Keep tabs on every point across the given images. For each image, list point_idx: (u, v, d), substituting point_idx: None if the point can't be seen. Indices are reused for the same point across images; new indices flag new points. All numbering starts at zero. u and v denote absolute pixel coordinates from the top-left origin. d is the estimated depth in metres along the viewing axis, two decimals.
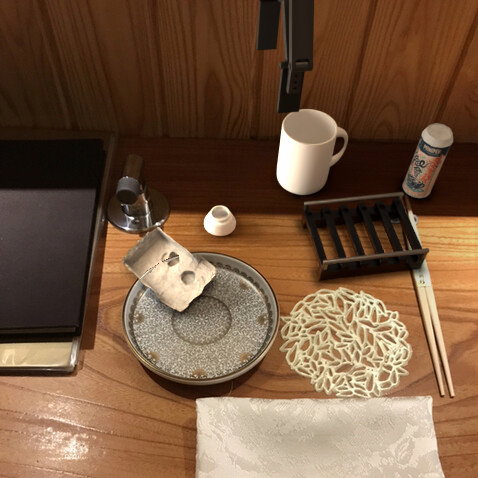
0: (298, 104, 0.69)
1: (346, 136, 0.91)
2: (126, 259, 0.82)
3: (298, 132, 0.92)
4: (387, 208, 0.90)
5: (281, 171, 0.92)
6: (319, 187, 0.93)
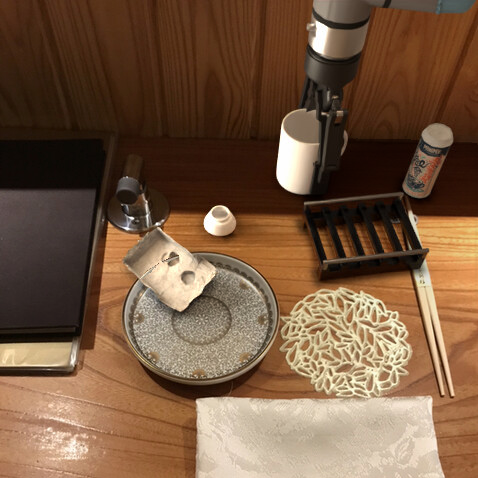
0: (326, 188, 0.92)
1: (346, 136, 0.91)
2: (126, 259, 0.82)
3: (298, 132, 0.92)
4: (387, 208, 0.90)
5: (281, 171, 0.92)
6: None
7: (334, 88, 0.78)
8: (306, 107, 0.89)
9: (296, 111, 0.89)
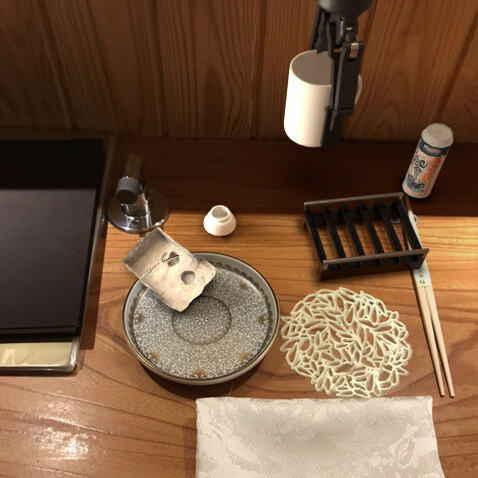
0: (338, 139, 0.84)
1: (360, 80, 0.83)
2: (126, 259, 0.82)
3: (307, 78, 0.84)
4: (387, 208, 0.90)
5: (289, 120, 0.84)
6: None
7: (348, 17, 0.69)
8: (317, 48, 0.81)
9: (305, 53, 0.81)
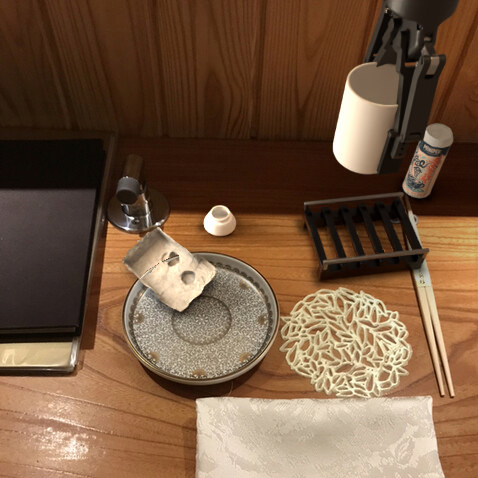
0: (399, 166, 0.72)
1: None
2: (127, 259, 0.82)
3: (363, 94, 0.72)
4: (387, 208, 0.90)
5: (341, 143, 0.72)
6: None
7: (428, 25, 0.57)
8: (378, 60, 0.68)
9: (364, 65, 0.69)
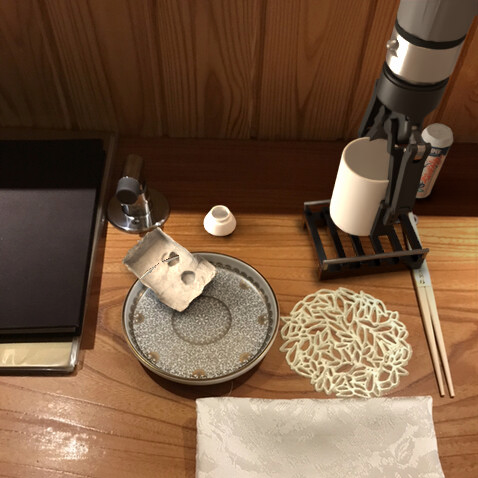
0: (390, 230, 0.78)
1: None
2: (127, 259, 0.82)
3: (357, 163, 0.79)
4: None
5: (337, 209, 0.78)
6: None
7: (415, 117, 0.64)
8: (370, 135, 0.75)
9: (358, 140, 0.75)
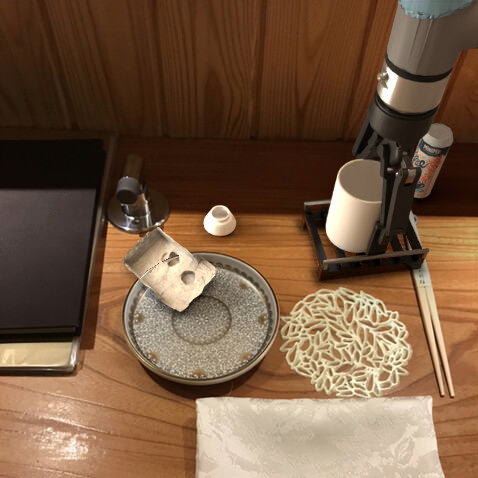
0: (385, 248, 0.81)
1: None
2: (126, 259, 0.82)
3: (352, 183, 0.82)
4: None
5: (333, 227, 0.82)
6: None
7: (405, 144, 0.67)
8: (364, 155, 0.78)
9: (352, 162, 0.79)
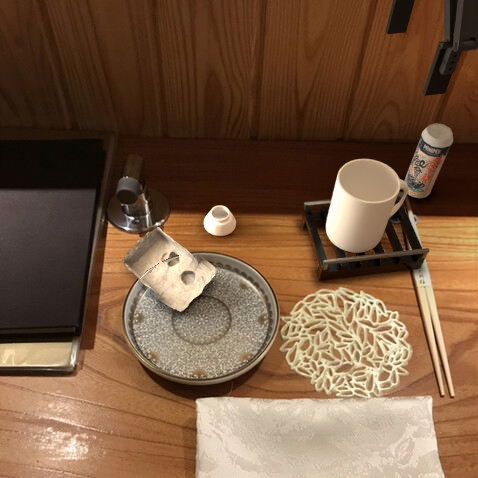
0: (446, 85, 0.68)
1: (406, 188, 0.81)
2: (126, 259, 0.82)
3: (352, 183, 0.82)
4: None
5: (333, 227, 0.82)
6: (375, 244, 0.83)
7: None
8: None
9: (352, 162, 0.79)
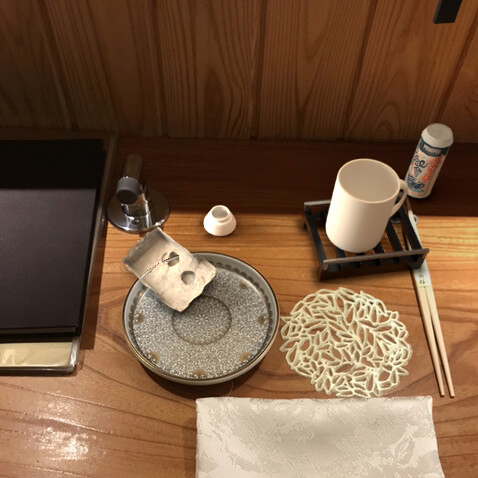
0: (456, 14, 0.70)
1: (406, 188, 0.81)
2: (126, 259, 0.82)
3: (352, 183, 0.82)
4: None
5: (333, 227, 0.82)
6: (375, 244, 0.83)
7: None
8: None
9: (352, 162, 0.79)
